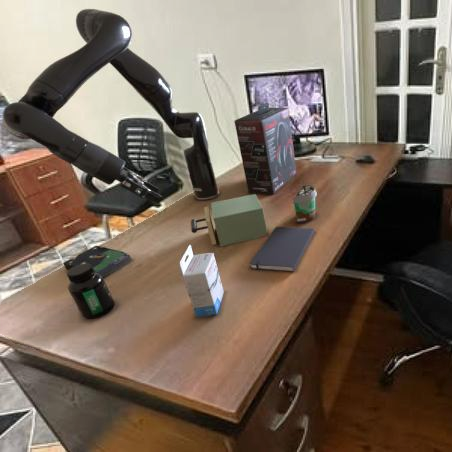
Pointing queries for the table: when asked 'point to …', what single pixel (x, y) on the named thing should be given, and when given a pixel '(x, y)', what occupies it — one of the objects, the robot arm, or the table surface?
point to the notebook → (282, 249)
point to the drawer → (209, 226)
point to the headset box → (266, 148)
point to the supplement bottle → (89, 292)
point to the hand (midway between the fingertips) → (159, 196)
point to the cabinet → (238, 219)
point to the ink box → (202, 282)
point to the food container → (305, 204)
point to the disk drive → (100, 260)
